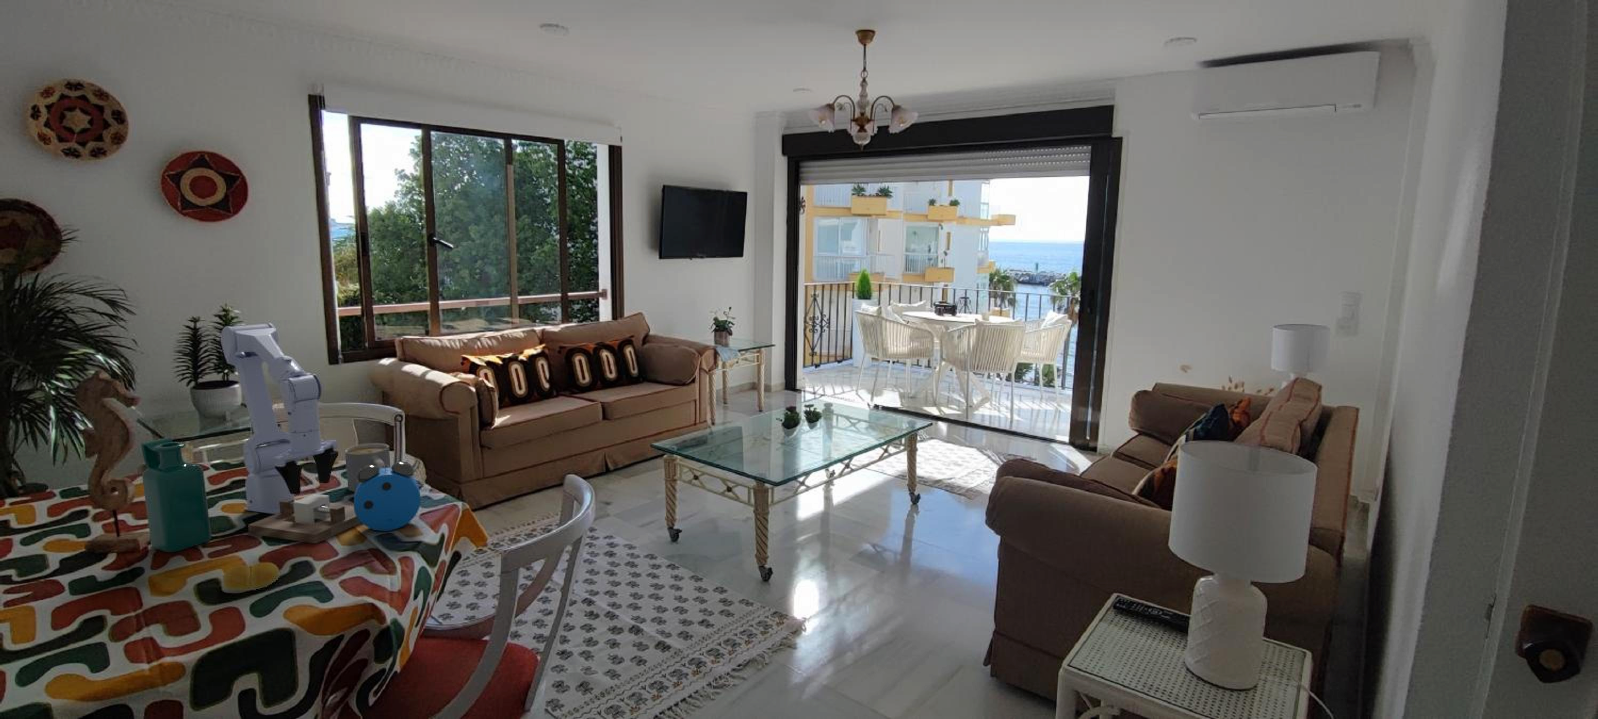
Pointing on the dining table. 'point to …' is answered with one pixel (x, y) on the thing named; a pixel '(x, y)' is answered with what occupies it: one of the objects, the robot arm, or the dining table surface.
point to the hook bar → (317, 509)
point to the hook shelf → (288, 529)
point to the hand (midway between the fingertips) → (310, 488)
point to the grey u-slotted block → (310, 509)
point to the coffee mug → (365, 460)
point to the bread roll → (249, 577)
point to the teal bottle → (174, 497)
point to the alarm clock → (386, 496)
